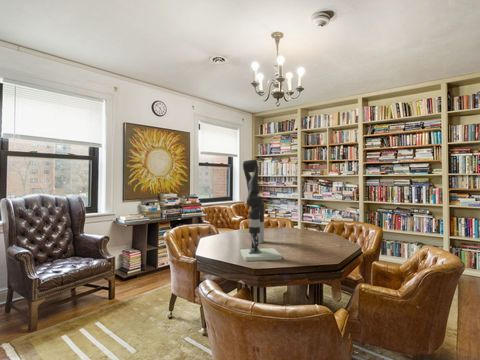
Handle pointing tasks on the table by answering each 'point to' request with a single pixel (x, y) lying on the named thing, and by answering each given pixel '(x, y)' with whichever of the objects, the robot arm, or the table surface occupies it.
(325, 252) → the table surface
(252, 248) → the servo block
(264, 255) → the chassis board
